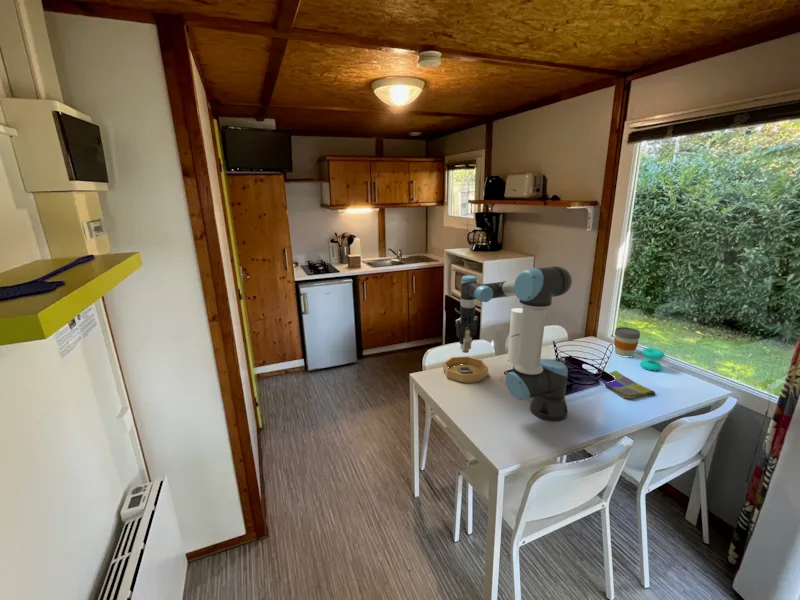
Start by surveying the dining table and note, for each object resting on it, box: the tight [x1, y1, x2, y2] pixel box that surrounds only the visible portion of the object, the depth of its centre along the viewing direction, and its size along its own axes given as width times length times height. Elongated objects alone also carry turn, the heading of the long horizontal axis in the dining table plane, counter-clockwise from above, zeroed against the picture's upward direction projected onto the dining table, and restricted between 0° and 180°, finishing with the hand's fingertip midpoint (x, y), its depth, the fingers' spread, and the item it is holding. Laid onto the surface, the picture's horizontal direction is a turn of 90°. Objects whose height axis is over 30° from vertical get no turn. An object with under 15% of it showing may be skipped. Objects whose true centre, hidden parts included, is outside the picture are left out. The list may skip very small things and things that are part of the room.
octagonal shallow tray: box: [442, 355, 489, 384], centre depth 199 cm, size 22×22×5 cm
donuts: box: [639, 347, 665, 372], centre depth 202 cm, size 10×10×10 cm
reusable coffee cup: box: [613, 326, 641, 356], centre depth 218 cm, size 13×13×15 cm
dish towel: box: [603, 370, 656, 400], centre depth 184 cm, size 18×24×3 cm
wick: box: [461, 326, 470, 354], centre depth 195 cm, size 3×3×13 cm
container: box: [507, 307, 523, 364], centre depth 210 cm, size 9×9×30 cm
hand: (465, 348), depth 196 cm, fingers closed on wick, 3 cm apart
